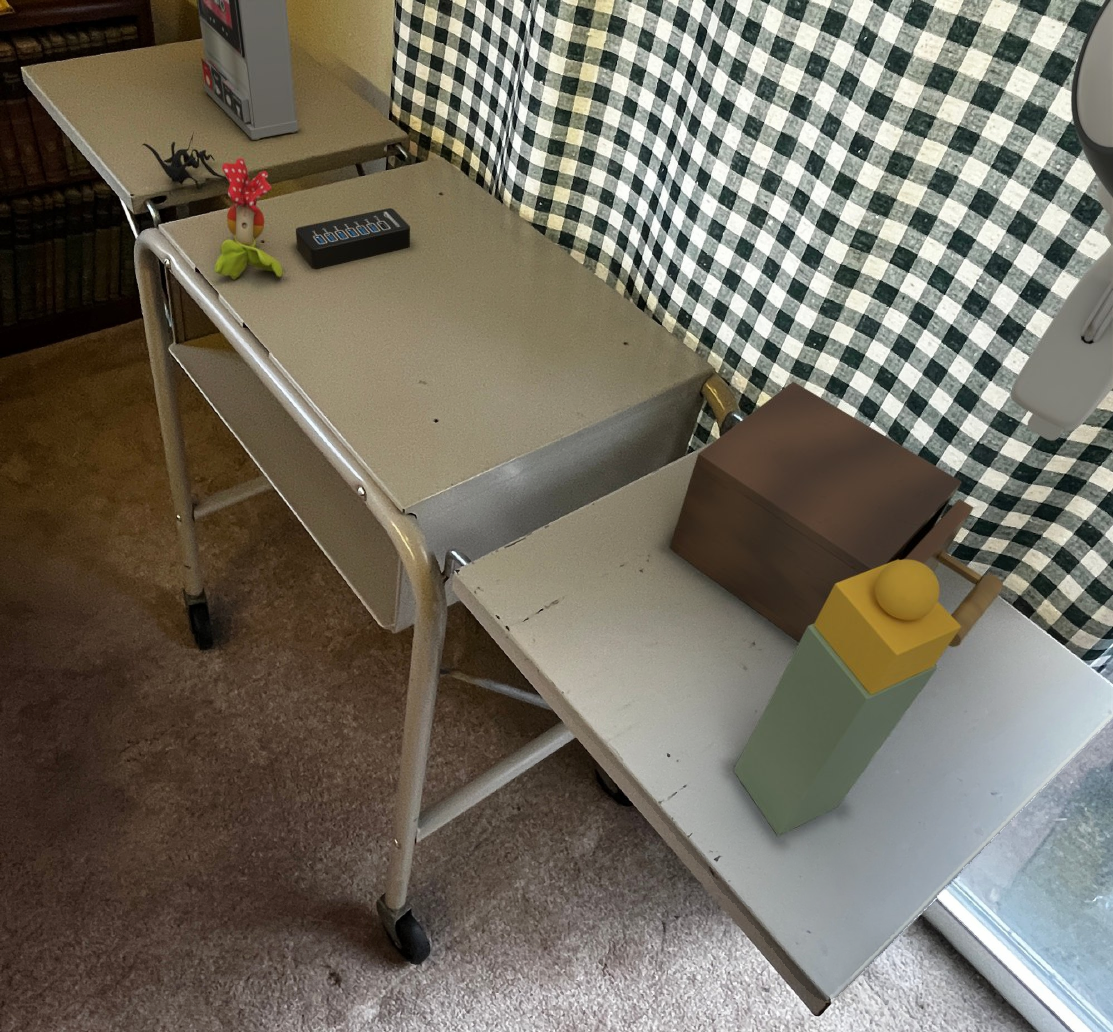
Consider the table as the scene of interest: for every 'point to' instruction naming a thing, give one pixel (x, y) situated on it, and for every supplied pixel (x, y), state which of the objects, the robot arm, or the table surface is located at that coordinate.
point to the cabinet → (804, 506)
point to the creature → (178, 170)
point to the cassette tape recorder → (249, 63)
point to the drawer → (956, 568)
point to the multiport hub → (352, 238)
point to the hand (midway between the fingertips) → (1062, 409)
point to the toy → (887, 623)
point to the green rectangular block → (818, 734)
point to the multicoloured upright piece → (244, 223)
